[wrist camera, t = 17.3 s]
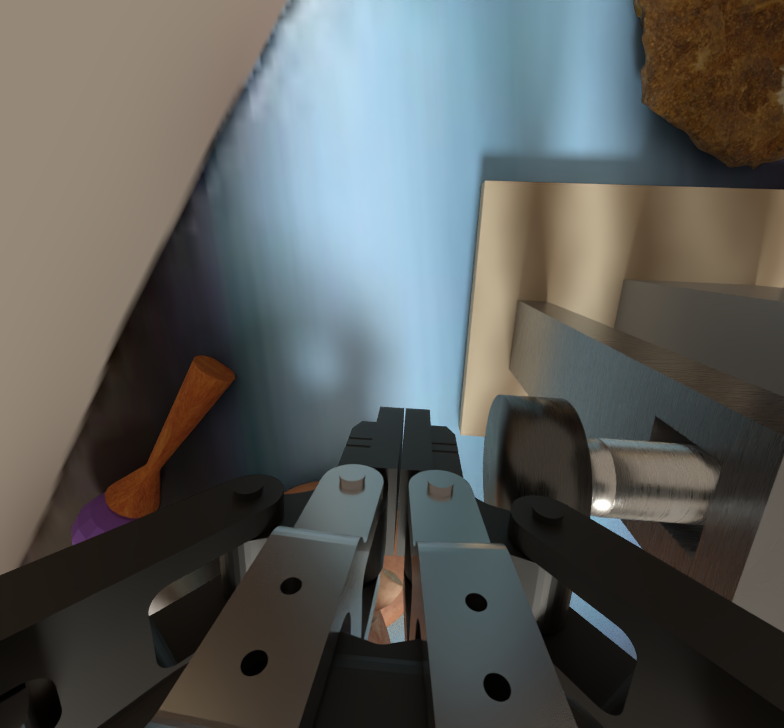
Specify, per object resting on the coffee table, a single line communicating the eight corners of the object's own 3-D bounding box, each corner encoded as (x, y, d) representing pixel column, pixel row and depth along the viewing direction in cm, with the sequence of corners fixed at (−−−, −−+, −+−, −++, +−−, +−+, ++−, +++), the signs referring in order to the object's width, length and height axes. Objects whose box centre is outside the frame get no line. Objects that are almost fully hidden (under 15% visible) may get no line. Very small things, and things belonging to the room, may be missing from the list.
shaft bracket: (508, 368, 29) (715, 647, 9) (517, 300, 27) (790, 438, 7) (536, 370, 29) (813, 656, 8) (546, 301, 27) (906, 446, 7)
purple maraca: (241, 403, 28) (117, 592, 32) (257, 374, 34) (149, 538, 38) (161, 360, 27) (39, 565, 31) (191, 337, 32) (86, 513, 36)
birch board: (458, 426, 32) (460, 434, 30) (481, 184, 27) (485, 180, 25) (717, 443, 31) (731, 453, 29) (791, 193, 26) (813, 190, 24)
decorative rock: (557, 95, 26) (747, 199, 27) (582, 72, 22) (802, 195, 23) (673, -126, 22) (887, 8, 23) (727, -200, 18) (981, -34, 19)
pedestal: (600, 396, 29) (828, 581, 13) (623, 279, 26) (940, 324, 10) (720, 403, 28) (1115, 605, 12) (755, 284, 26) (1301, 341, 10)
